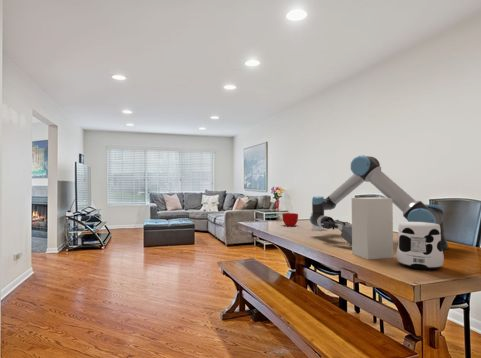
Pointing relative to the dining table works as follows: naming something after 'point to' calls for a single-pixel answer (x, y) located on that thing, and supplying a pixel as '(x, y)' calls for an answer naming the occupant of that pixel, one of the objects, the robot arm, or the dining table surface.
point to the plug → (345, 231)
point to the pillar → (372, 227)
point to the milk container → (420, 245)
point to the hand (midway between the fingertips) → (347, 227)
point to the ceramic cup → (290, 219)
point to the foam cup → (316, 227)
